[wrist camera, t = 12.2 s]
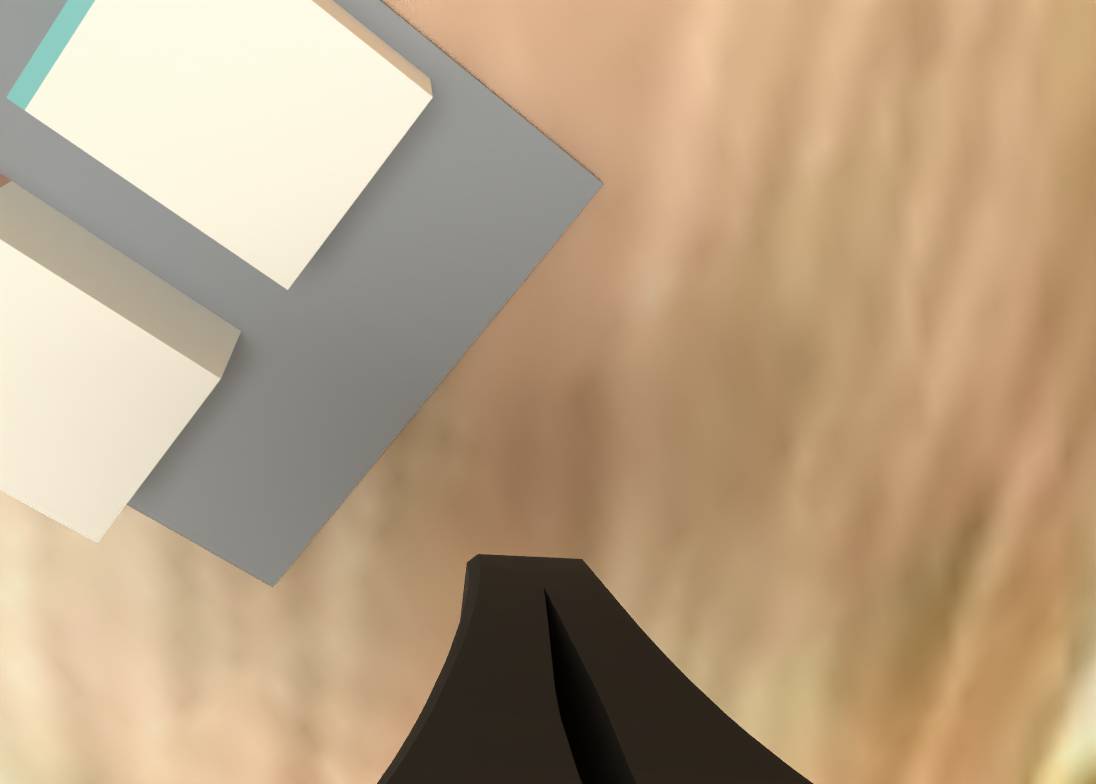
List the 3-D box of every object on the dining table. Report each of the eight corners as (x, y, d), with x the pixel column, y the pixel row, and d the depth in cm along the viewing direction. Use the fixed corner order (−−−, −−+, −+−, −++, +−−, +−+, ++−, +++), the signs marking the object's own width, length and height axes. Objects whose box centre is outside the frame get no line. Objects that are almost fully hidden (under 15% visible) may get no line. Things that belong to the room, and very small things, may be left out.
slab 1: (433, 97, 17) (149, -129, 15) (287, 290, 18) (5, 97, 16) (430, 78, 19) (183, -121, 17) (301, 250, 20) (55, 78, 18)
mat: (599, 179, 20) (603, 184, 20) (274, 577, 23) (272, 587, 22) (18, -299, 16) (9, -304, 16) (-297, 250, 19) (-312, 257, 18)
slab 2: (220, 378, 18) (-60, 201, 16) (97, 543, 19) (-181, 391, 17) (241, 331, 20) (-4, 170, 18) (129, 480, 21) (-114, 340, 19)
